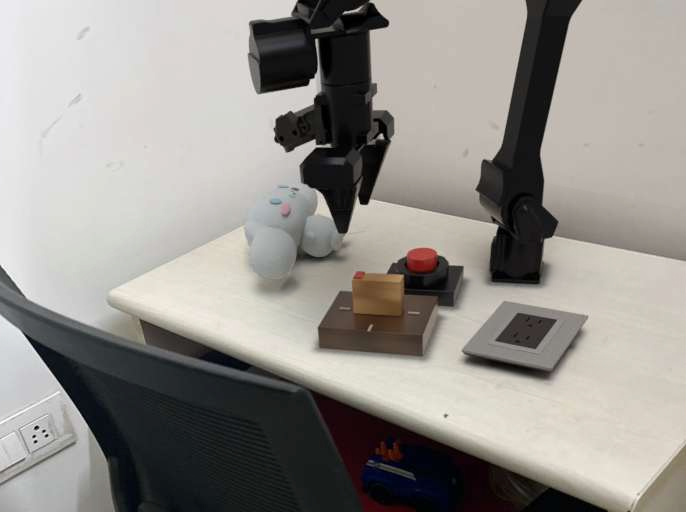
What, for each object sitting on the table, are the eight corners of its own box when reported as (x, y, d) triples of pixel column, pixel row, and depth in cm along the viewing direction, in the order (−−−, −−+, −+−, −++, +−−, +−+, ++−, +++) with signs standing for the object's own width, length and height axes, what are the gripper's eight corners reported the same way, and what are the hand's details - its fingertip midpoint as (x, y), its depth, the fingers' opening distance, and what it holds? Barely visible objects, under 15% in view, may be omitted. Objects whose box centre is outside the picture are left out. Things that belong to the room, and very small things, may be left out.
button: (439, 260, 104) (439, 248, 103) (434, 273, 101) (434, 260, 100) (410, 259, 105) (410, 246, 104) (404, 272, 102) (403, 259, 101)
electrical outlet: (549, 384, 86) (551, 366, 84) (461, 365, 90) (461, 347, 89) (585, 331, 94) (588, 313, 92) (502, 315, 98) (504, 298, 97)
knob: (404, 308, 96) (403, 272, 93) (400, 316, 94) (400, 280, 91) (357, 305, 97) (355, 270, 94) (353, 313, 96) (351, 277, 93)
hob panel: (438, 317, 100) (438, 294, 97) (422, 357, 92) (422, 334, 90) (341, 311, 103) (339, 289, 101) (319, 349, 96) (317, 326, 94)
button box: (463, 280, 107) (464, 252, 104) (453, 307, 101) (454, 278, 99) (392, 277, 110) (391, 249, 107) (379, 303, 104) (378, 275, 101)
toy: (341, 259, 102) (237, 208, 100) (310, 323, 108) (212, 277, 106) (361, 191, 126) (276, 149, 123) (334, 247, 132) (254, 207, 130)
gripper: (305, 60, 94) (316, 189, 105) (247, 103, 81) (266, 246, 92) (394, 58, 91) (396, 191, 101) (347, 102, 78) (356, 251, 88)
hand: (353, 218), depth 96 cm, fingers open, 9 cm apart
